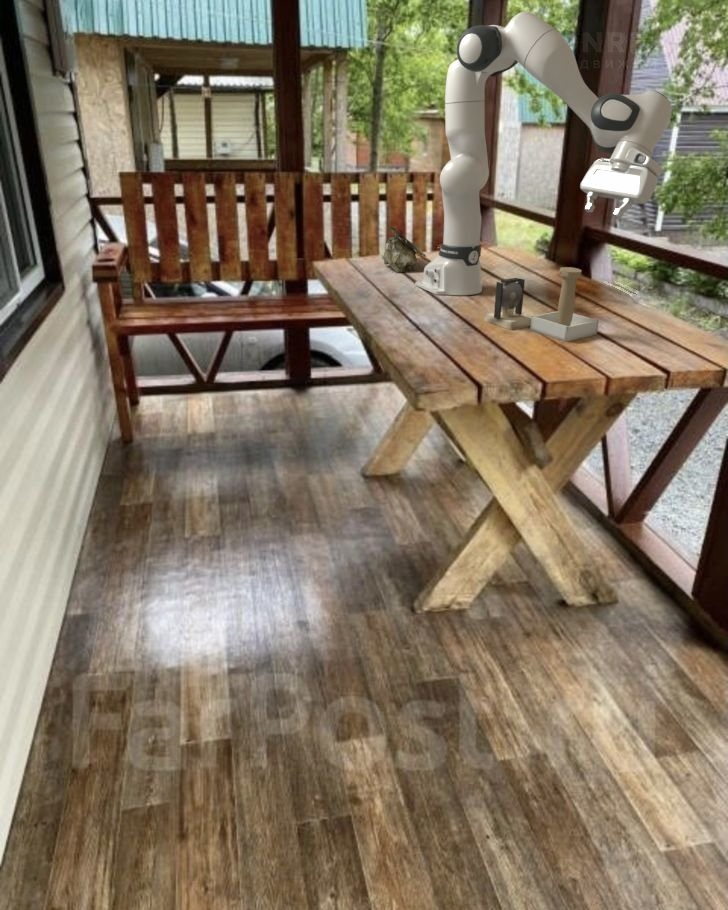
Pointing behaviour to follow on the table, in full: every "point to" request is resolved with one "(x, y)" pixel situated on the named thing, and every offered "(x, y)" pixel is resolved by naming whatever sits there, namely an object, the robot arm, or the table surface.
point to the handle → (567, 295)
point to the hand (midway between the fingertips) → (602, 214)
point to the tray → (565, 333)
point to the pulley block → (509, 305)
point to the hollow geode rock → (401, 253)
